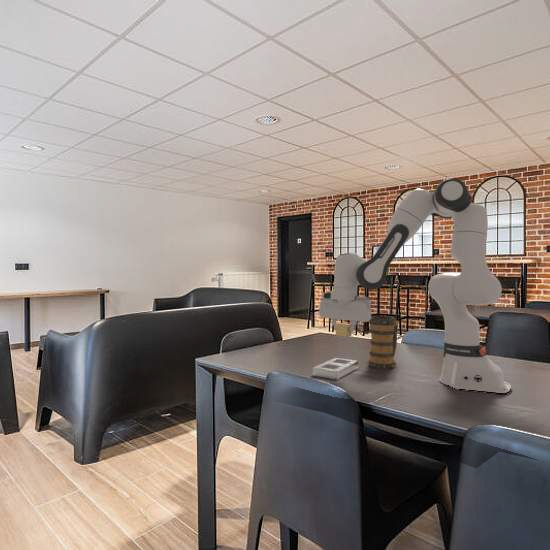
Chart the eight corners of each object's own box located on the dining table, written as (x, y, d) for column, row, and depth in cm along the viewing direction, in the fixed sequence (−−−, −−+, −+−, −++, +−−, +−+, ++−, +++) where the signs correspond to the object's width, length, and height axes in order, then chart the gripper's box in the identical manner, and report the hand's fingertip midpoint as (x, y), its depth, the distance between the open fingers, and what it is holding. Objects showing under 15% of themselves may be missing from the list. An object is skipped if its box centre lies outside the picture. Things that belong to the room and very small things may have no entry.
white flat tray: (358, 368, 165) (358, 360, 164) (337, 379, 148) (337, 371, 148) (335, 364, 170) (335, 357, 170) (312, 375, 153) (312, 367, 153)
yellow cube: (346, 337, 153) (347, 325, 153) (335, 335, 155) (336, 323, 155) (351, 335, 156) (352, 324, 156) (340, 334, 159) (341, 322, 159)
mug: (359, 365, 170) (360, 317, 170) (383, 359, 181) (384, 314, 181) (386, 371, 160) (386, 320, 160) (409, 364, 172) (410, 317, 171)
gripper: (374, 296, 152) (372, 333, 152) (325, 293, 164) (323, 327, 164) (368, 297, 147) (366, 335, 147) (317, 293, 159) (316, 329, 159)
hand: (343, 331), depth 156 cm, fingers closed on yellow cube, 4 cm apart
